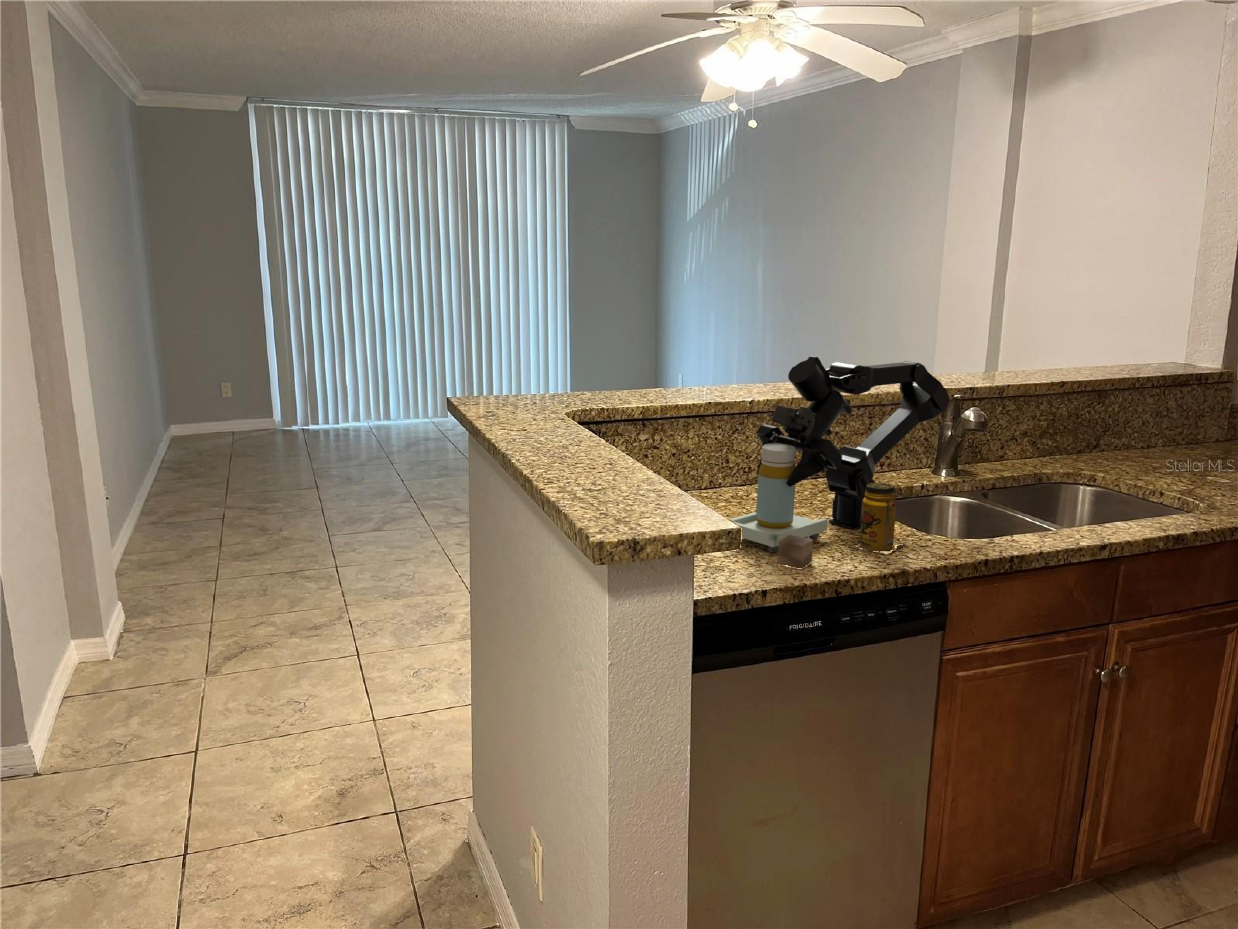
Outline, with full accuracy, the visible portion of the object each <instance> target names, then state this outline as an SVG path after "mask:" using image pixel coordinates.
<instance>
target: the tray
mask: <svg viewBox="0 0 1238 929" xmlns="http://www.w3.org/2000/svg"><path fill="white" fill-rule="evenodd" d="M728 520H732V521H733V522H734V523H736V524H737V525H739V526H740V527H741V528H742V538H741V539H746V540H748V541H752V542H754V543H758V544H762V545H766V546H768V552H770V553H773V554H776V552H777V553H778V549H779V541H780V540H782V539H784V538H785V537H787V536H788V535H793V536H798V537H803V538H808V537H809V538H808V539H813V541H817V540H818V539H819V537H820V533H823V532H826V531H828V523H829V520H828V518H825V517H821V518H818V519H816V520H814V519H810V518H805V517H803V516H798V515H795V514H793V523H792V524H791V525H790V526H789V527H786V528H777V529H775V528H768V527H764V526H761V525H760V524H759V523H758V522H757V521H756V511H755V512H751V513H747V514H744V515H740V516H738V517H737V516H736V517H734V518H729V519H728Z"/></svg>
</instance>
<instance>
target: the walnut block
mask: <svg viewBox="0 0 1238 929" xmlns="http://www.w3.org/2000/svg"><path fill="white" fill-rule="evenodd" d="M813 547H814V540H813V539H810V538H808V537H804V538H803V537H798V536H793V535H788V536H787V537H785V538H784V539H782V540H780V541H779V549H778V552H777V553H778V554H777V565H778V564H780V565H788V566H791V567H796V568H803V567H805V566H806V565H808V564H809V563H810V562H812V563H813ZM808 566H809V565H808ZM805 568H806V567H805Z"/></svg>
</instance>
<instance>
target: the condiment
mask: <svg viewBox="0 0 1238 929" xmlns="http://www.w3.org/2000/svg"><path fill="white" fill-rule="evenodd" d="M895 491H896V488H895V486H894V485H892V484H889V483H886V482H885V483H882V482H875V483H870V484H868V485H866V492H865V498H864V499H863V503H862V518H861V528H860V534H859V535H860V536H859V543H857V544H860V546H859V545H858V547H856V546H855V545H856V544H854V545H853V546H852V548H854V549H857V550H860V548H863V550H862V549H861V550H860V551H865V550H867V551H866V552H869V551H879V552H880V551H890V550H892V548H893V547H892V546H893V542H895V539H894V538H895V523H896V513H897V512H896V511H897V510H896V509H897V501H896V499H895V498H896V494H895ZM899 543H900V544H903V545H899V547H898V546H897V549H898V550H899V549H900V548H903V546H904V547H905V545H907V543H904V542H899ZM864 549H865V550H864ZM880 554H881V555H886V556H889V555H890V554H885V553H880Z"/></svg>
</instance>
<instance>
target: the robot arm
mask: <svg viewBox="0 0 1238 929" xmlns="http://www.w3.org/2000/svg"><path fill="white" fill-rule="evenodd" d="M787 377H788V380H789V382H790V383H791V384H792V385H793V386H794V388H795V389H796V391H797V392H798V394H799V395H800V396H801V398H802V399H803V400H804V401H806V402H810V403H809V405H807V407H803V406H800V407H799V408H798V409H796V408H792V407H788V406H785V405H779V404H778V405H776V407H775V409H774V412H773V415H772V417H771V420H770V421H771V422H773V423H777V424H779V425H781V426H783V427H782V430H783V431H784V432H785V433H786V434H787V435H785V434H784V433H783V432H782V430H781V429H780V428H779V426H774V425H770V424H760V426H759V427H758V429H757V430H756V432H755V435H756V436H757V437H758V438H759V441H760V442H761V443H762V446H763V445H766V444H786V445H791V446H793V447H795V449H796V451H799V452H801V458H800V460H799V462H797V464H796V466H795V469H794V471H793V472H792V474H791V475H790V477H789V479H788V481H787V482H786V484H787V485H788V486H789V487H791V486H793V485H795V486H796V485H797V484H799V483H801V482H802V481H804V480H806V479H808V478H811V477H812V476H814V475H816V474H819V473H821V472H823V471H825V472H824V473H825V478H826V482H827V487H828V491H829V492H834V498H833V499H832V509H831V512H832V513H831V519H829V520H828V523H829V524H832V525H837V526H840V527H844V528H847V529H852V530H858V529H861V518H862V503H863V499H864V498H865V492H866V485H868V484H870V483H876V481H875V480H874V477H875V469H876V465H877V464H878V463H879V462H880V461H881V460H882V459H883V458H884V457H885V456H887V454H888V453H889V452H891V450H893V449H894V447H896V446H897V444H898V443H899V442H901V441H902V440H903V439H904V438H905V437H906V436H907V435H909V433H910V432H911V431H912V430H914V428H916V426H917V425H919V424H921V423H924V422H927V421H930V420H933V419H935V418H937V417H938V416H940V415H941V414H942V413H944V412H945V411H946V409H947V408H948V406H949V404H950V395H949V394H948V390H947V389H946V388H945V386H944V385H943V383H942V382H941V381H940V380H939V379H937V378H936V377H935V376H934V375H932V373H930V372H929V371H928V369H927V368H926V366H925V365H924V364H923V363H921V362H915V361H908V360H907V361H906V360H903V361H901V362H894V363H885V364H883V363H882V364H873V365H872V364H871V365H859V364H854V363H853V364H852V363H846V362H837V361H836V362H833V363H831V364H830V367H828V368H825V366H824V365H823V364H822V361H821V359H820V358H819V357H818V356H814V355H813V356H812V355H810V356H809V357H808V358H807V359H806V360H803V361H800V362H798V363H797V364H796V365H795V366H792V367H791V369H790V370H789V373H788V375H787ZM895 384H899V392H900V393H901V394H902V396H901V400H900V407H899V408H898V409H897V410H896V411H895V412H894V413H892V414H891V415H890V416H889V417H888V418H887V419H886V420H885V421H883V423H882V424H881V425H880V426H879V427H878V428H876V430H874V431H873V432H872V433H871V434H870V435H869V436H868V437H867V438H866V439H865V440H864V441H863V442H861V443H860V444H859V445H858V446H857V447H856V448H855V447H851V446H847V445H843V446H842V447H840V448H839V449H838V448H837V447H836V445H835V443H833V441H832V440H831V439H827V438H824V436H827V437H831V435H832V433H833V431H832V430H831V429H830V428H831V427H832V425H833V424H834V423H835V421H836V420H837V418H838V417H839V416H840V414H846V415H851V414H852V407H851V400H850V399H846V398H845V397H844V396H843V395H842V394H848V395H853V396H859V395H863V394H864V393H865V394H866V393H867V392H870V390H871V389H872V388H874V387H877V386H879V387H880V386H887V385H889V386H890V385H895ZM761 464H762V456H761V458H760V460H759V464H758V466H757V470H756V475H757V476H758V473H759V468H760V466H761Z"/></svg>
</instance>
